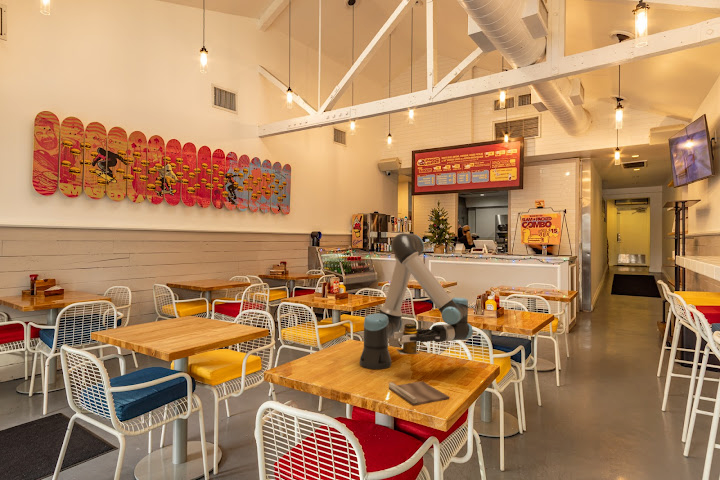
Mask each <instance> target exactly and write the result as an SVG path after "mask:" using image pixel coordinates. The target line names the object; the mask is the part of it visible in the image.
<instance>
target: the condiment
mask: <svg viewBox="0 0 720 480" xmlns="http://www.w3.org/2000/svg"><path fill="white" fill-rule="evenodd" d="M416 329H417V324H413V323H406V324H404V329H403V331H402V332H403V336H405V335H416V336H417V331H416ZM417 348H418V341H417V340H416V341H413V342H402V349H398V348H397V349H395V350H396V352H398V353H399V354H400V355H419V354H420V353H419V352H418V351H417Z"/></svg>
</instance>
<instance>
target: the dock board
mask: <svg viewBox="0 0 720 480" xmlns="http://www.w3.org/2000/svg"><path fill="white" fill-rule="evenodd" d="M388 389H389V390H391V391H392V392H393V393H394V394H396V395H397V396H399V397H400V398H402V399H403V400H405V401H406V402H408V403H409V404H410V405H412V406H419V405H426V404H429V403H434V402H440V401H446V400H450V396H449V395H447V394H445V393H444V392H442V391H440V390H438V389H437V388H435V387H433V386H431V385H430V384H428V383H426V382H425V381H423V380H422V381H416V382H415V381H414V382H409V383H402V384H396V383H394V382H392V381H391V382H388Z"/></svg>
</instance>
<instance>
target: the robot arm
mask: <svg viewBox="0 0 720 480" xmlns="http://www.w3.org/2000/svg"><path fill="white" fill-rule="evenodd" d="M424 249H425V243H424V241H423V239H422V238H421V237H420V236H419V235H417V234H415V233H406V232H405V233H404V232H403V233H399V234H397V235H395V236H394V237H393V239H392V241H391V251H392V253H393V255H394V259H395V261H396V262H395V265H394V268H393V272H392V276H391V279H390V280H391V281H390V283H389V285H388V290H387V294H386V298H385V300H384V301H385V302H384V305H382V306H381V307H380V308H379V312H378V313H370V314H367V315H366V316H365V317H364V322H363V349H362V352H361V355H360V358H359V365H360V366H361V367H362V368H365V369H370V370H384V369H387V368H390V367H392V359H391V354H390V351H389V338H391V337H393V338H394V339H395V340H396V339H397V340H398V339H401V343H403V342H413V341H416V340H417V342H420V343H427V342H436V343H442V342H443V343H444V342H445V343H448V342H450V341H464V340H469V339H471V338H472V336H473V334H474V329H473V326H472V325H471V323H468V322H469V321H468V318H469V299H467V298H465V297H453V298H452V297H451V296H450V295H449V294H448V292H447V291H446V290H445V288H444V287H443V286H442V284H441V283H440V282H439V280H438V279H437V278H436V277H435V275H434V273H432V272H431V270H430V269H429V268H428V266H427V265H426V264H425V262H424V261H423V260H422V259H421V258H420V256H421V255H422V253H423V252H424ZM411 275H412V277H413V278H414V279H415V281H417V283H418V285H420V287H421V288H422V289H423V291H424V292H425V293H426V295H427V296H428V298H429V299H430V301H432V303H433V304H434V305H435V307H436V308H437V309H438V311H439V312H440V313H441V319H442V321H443V322H444V323H445V324H435V325H433V326H432V327H431V328H427V329H425V328H423V327H422V328H416V331H417V336H416V335H405V336H403V331H401V328H402V327H403V321H402V317H403V313H402V310H401V309H402V305H403V302H404V298H405V296H406V292H407V288H408V284H409V281H410V277H411Z"/></svg>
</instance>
